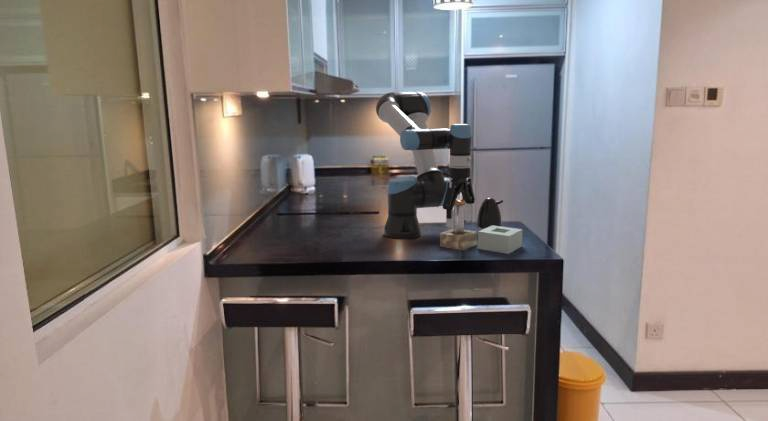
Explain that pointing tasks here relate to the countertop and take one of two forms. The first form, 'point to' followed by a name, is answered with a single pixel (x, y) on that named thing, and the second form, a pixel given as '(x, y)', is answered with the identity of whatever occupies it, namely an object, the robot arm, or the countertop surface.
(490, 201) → the pump dispenser
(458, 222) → the pin
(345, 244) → the countertop surface
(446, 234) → the block
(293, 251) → the countertop surface
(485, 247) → the dock
